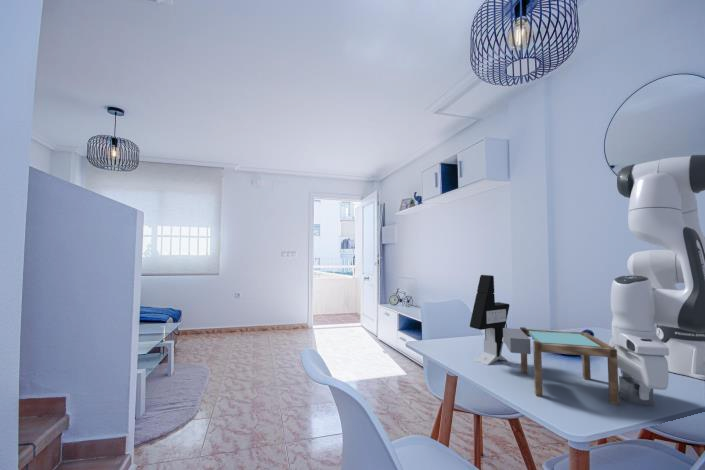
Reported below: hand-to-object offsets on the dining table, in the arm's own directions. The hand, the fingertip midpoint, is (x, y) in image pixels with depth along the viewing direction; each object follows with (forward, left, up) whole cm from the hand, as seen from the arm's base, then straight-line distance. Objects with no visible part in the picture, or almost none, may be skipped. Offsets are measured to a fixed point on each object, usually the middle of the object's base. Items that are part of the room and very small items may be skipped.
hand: (636, 393), depth 84 cm
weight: (0, 0, -2) cm, 2 cm away
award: (+32, -23, -2) cm, 39 cm away
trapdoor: (+19, -5, +8) cm, 21 cm away
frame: (+15, -5, -2) cm, 16 cm away
